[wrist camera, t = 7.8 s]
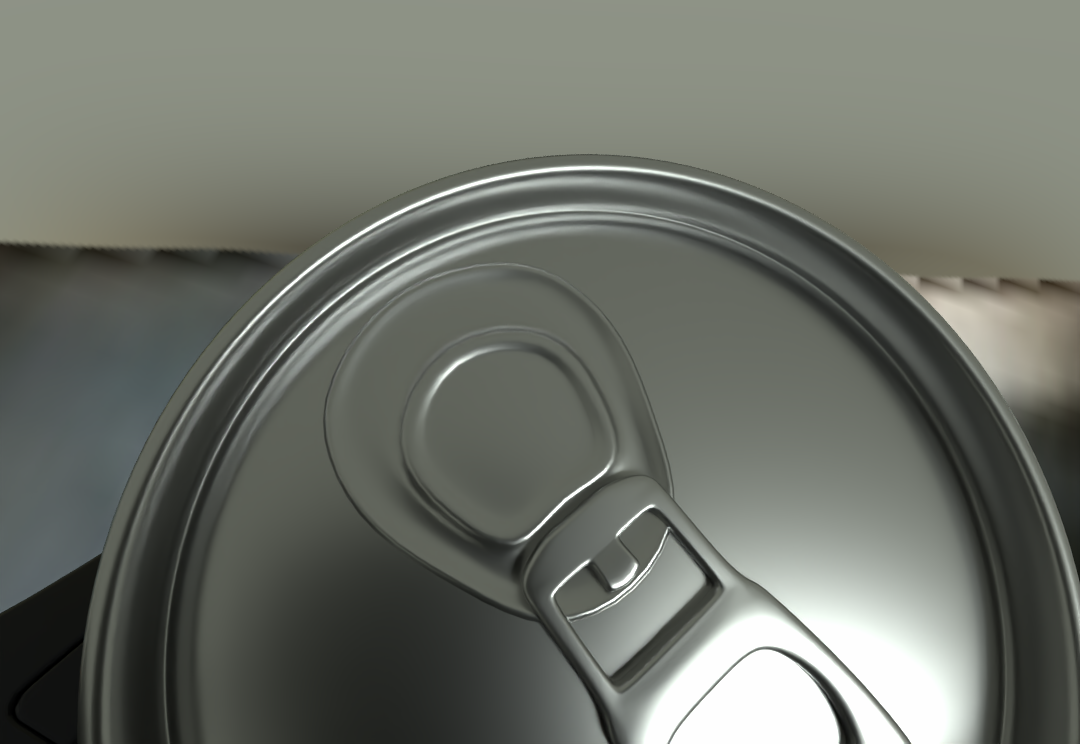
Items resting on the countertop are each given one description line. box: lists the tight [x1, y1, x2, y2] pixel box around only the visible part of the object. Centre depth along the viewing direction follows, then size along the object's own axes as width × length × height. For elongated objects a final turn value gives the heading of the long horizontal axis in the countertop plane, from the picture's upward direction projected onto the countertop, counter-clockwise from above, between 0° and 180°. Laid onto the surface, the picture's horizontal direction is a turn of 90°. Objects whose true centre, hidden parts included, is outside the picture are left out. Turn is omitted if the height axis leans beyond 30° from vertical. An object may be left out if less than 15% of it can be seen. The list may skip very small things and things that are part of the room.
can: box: [77, 154, 1080, 744], centre depth 9 cm, size 6×6×12 cm
